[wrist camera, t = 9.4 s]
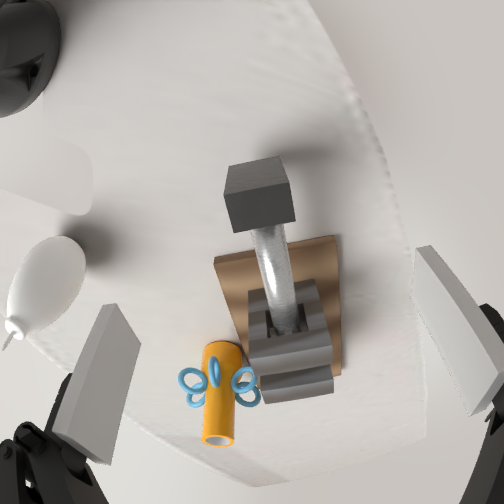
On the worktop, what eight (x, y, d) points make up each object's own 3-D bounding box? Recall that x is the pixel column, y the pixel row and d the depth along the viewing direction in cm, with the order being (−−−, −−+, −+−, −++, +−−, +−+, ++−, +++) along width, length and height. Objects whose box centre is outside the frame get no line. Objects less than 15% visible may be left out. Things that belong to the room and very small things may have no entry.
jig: (214, 257, 37) (203, 332, 26) (333, 235, 35) (364, 304, 25) (258, 382, 50) (260, 444, 40) (339, 368, 49) (353, 428, 39)
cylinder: (274, 342, 45) (282, 433, 32) (246, 379, 50) (246, 459, 37) (194, 318, 42) (180, 413, 29) (176, 360, 47) (161, 443, 34)
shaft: (228, 166, 27) (223, 195, 21) (279, 156, 26) (289, 182, 21) (272, 339, 39) (276, 384, 33) (308, 333, 38) (316, 378, 32)
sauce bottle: (107, 246, 36) (41, 358, 20) (85, 282, 39) (29, 386, 23) (60, 210, 33) (-27, 305, 18) (42, 250, 36) (-28, 343, 20)
